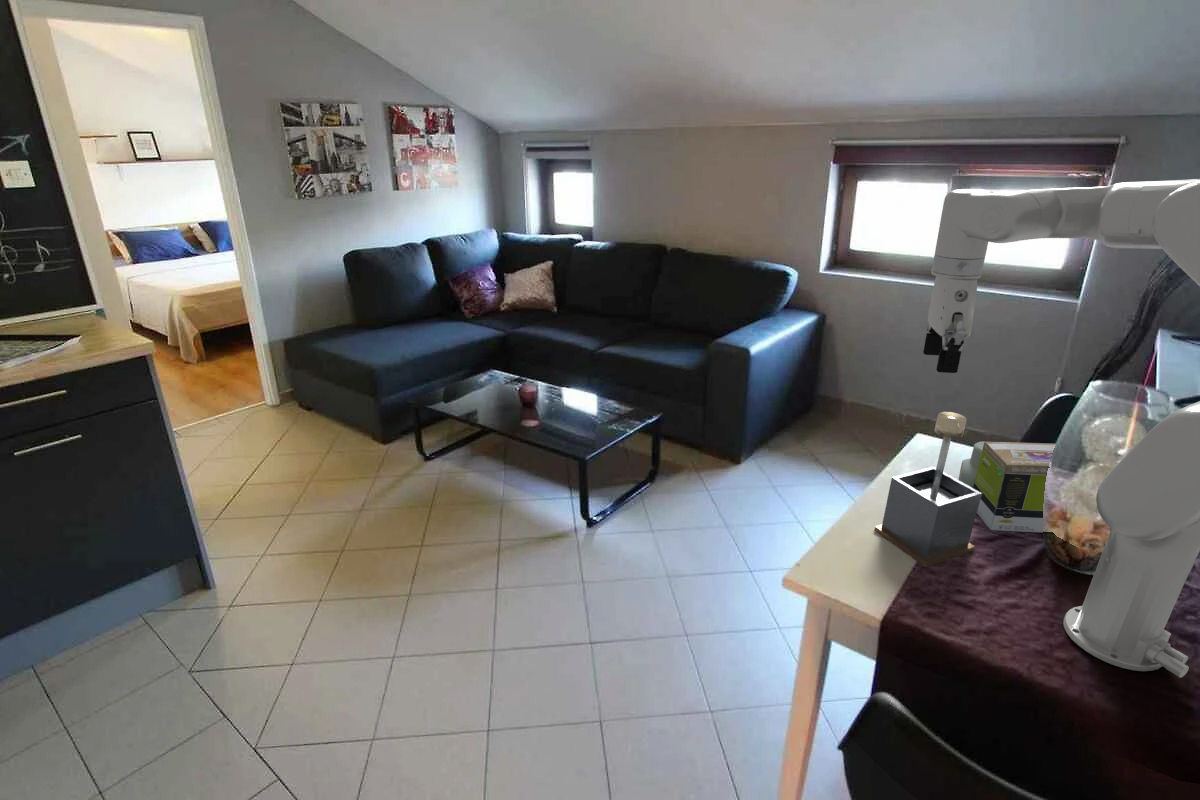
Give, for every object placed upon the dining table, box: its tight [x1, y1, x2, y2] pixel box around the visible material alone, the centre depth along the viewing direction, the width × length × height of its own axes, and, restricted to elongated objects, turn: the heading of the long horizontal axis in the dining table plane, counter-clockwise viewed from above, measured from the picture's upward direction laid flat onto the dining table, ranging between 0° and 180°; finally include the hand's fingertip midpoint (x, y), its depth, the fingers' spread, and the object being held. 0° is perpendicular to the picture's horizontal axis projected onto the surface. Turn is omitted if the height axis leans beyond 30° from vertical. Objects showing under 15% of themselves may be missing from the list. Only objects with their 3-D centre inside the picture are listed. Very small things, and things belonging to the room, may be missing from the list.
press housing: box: [873, 466, 982, 568], centre depth 120 cm, size 12×12×12 cm
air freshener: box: [958, 441, 985, 488], centre depth 137 cm, size 11×8×10 cm
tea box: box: [973, 441, 1057, 533], centre depth 126 cm, size 15×10×15 cm, turn 84°
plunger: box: [913, 411, 968, 503], centre depth 115 cm, size 8×8×17 cm
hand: (939, 363), depth 116 cm, fingers open, 9 cm apart
